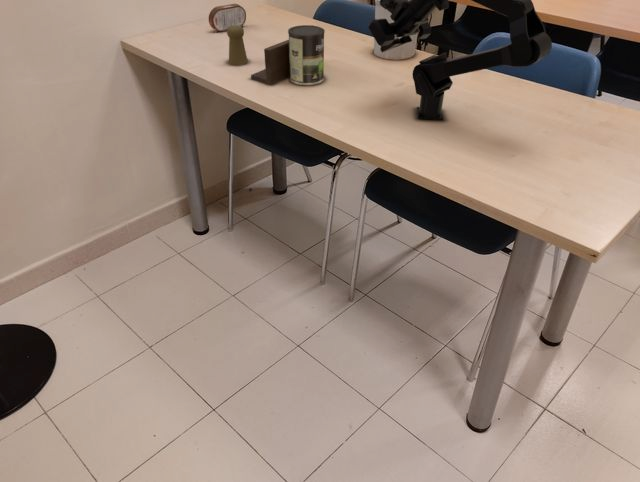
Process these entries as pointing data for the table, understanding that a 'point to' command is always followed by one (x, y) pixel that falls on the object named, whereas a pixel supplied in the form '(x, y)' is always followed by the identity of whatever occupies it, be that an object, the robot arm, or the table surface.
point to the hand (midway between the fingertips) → (381, 50)
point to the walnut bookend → (275, 64)
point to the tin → (227, 17)
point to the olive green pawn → (236, 46)
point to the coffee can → (306, 54)
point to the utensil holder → (398, 52)
